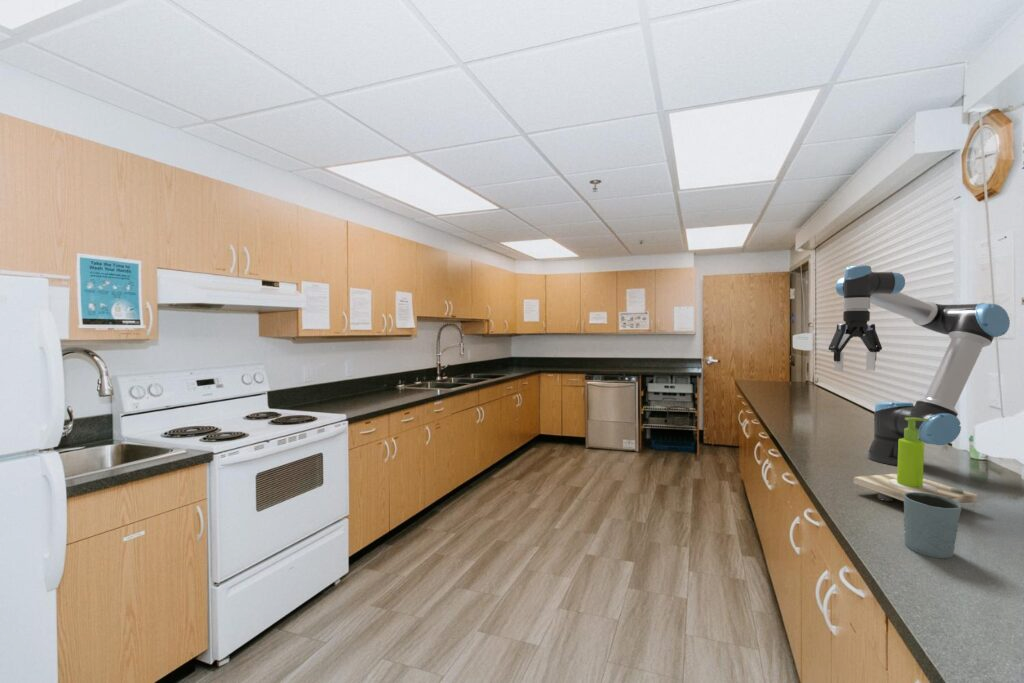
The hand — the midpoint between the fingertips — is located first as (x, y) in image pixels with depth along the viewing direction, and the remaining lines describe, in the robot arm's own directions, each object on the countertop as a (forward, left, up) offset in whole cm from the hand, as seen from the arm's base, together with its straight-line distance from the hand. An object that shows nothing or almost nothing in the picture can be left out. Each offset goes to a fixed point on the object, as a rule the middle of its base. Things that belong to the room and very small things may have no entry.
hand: (854, 370), depth 167 cm
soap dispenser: (+7, +26, -32) cm, 41 cm away
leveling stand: (+7, +26, -37) cm, 46 cm away
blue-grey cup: (+34, +51, -37) cm, 72 cm away
